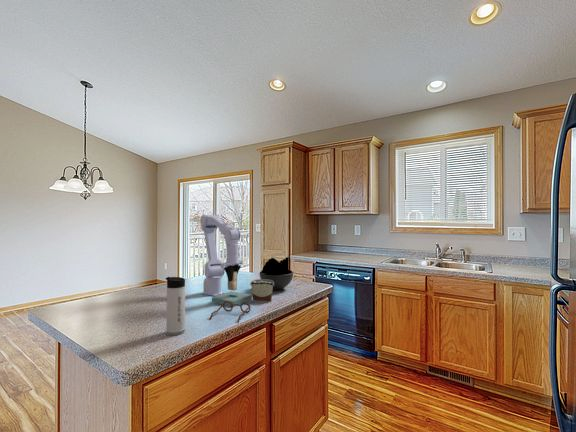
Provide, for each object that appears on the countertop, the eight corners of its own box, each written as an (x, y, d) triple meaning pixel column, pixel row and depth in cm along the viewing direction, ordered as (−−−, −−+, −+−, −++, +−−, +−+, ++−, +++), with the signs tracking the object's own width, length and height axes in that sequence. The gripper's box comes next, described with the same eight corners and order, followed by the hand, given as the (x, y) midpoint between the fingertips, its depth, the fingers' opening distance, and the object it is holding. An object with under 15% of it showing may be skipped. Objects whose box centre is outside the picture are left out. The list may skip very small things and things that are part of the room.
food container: (275, 298, 149) (276, 279, 149) (274, 301, 143) (274, 281, 143) (252, 297, 150) (252, 278, 150) (249, 301, 144) (250, 281, 144)
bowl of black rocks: (255, 292, 160) (255, 259, 161) (264, 284, 180) (264, 254, 180) (290, 294, 157) (290, 260, 157) (295, 286, 177) (295, 255, 177)
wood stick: (227, 289, 144) (227, 271, 144) (230, 288, 146) (231, 270, 146) (233, 290, 142) (233, 272, 142) (237, 289, 144) (237, 271, 144)
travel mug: (168, 329, 107) (169, 275, 107) (186, 328, 107) (187, 275, 108) (162, 336, 101) (163, 279, 101) (182, 335, 101) (182, 278, 101)
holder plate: (211, 302, 141) (211, 297, 141) (230, 296, 153) (230, 291, 153) (233, 306, 134) (233, 301, 134) (251, 299, 146) (251, 294, 146)
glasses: (250, 313, 126) (250, 302, 126) (238, 324, 113) (238, 311, 113) (223, 311, 129) (223, 300, 129) (208, 321, 117) (208, 308, 117)
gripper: (228, 255, 136) (228, 284, 136) (247, 252, 148) (247, 278, 148) (217, 254, 139) (217, 282, 139) (237, 251, 152) (236, 277, 152)
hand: (232, 280), depth 144 cm, fingers closed on wood stick, 2 cm apart
